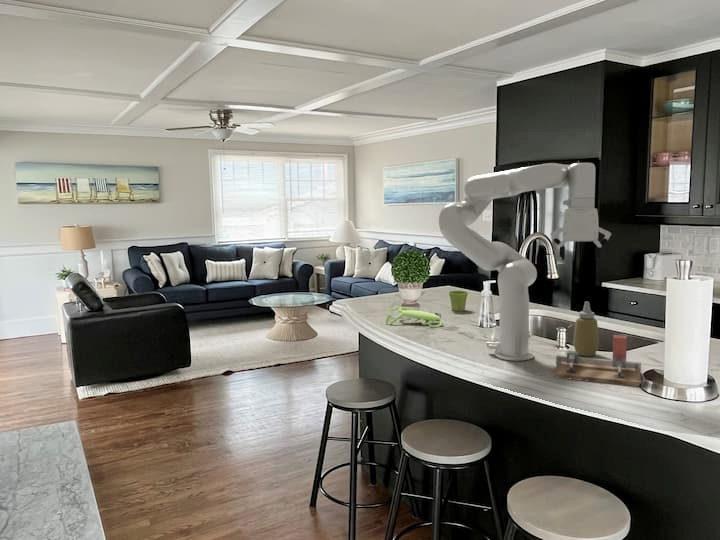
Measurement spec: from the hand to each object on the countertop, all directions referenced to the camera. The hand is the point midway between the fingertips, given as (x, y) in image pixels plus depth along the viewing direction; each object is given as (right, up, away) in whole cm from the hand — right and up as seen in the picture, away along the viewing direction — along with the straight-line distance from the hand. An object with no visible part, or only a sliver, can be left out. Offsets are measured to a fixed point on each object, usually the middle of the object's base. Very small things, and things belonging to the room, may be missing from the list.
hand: (579, 259), depth 173 cm
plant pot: (-21, -23, +94) cm, 99 cm away
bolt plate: (+3, -34, -7) cm, 35 cm away
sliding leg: (+8, -33, -8) cm, 35 cm away
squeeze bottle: (+8, -32, +15) cm, 36 cm away
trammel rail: (+3, -33, -6) cm, 34 cm away
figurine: (-44, -26, +71) cm, 88 cm away
